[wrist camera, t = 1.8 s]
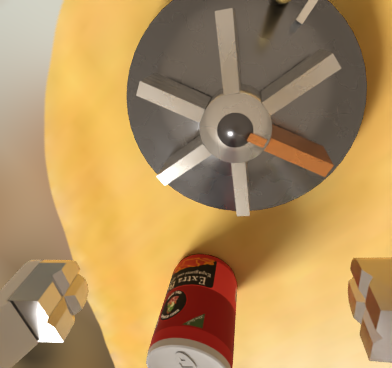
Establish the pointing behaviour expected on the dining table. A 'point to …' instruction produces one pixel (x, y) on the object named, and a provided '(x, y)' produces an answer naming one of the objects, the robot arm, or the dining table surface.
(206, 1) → the disc
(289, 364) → the dining table surface
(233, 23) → the finned rotor disc
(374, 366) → the dining table surface
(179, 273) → the canned food
